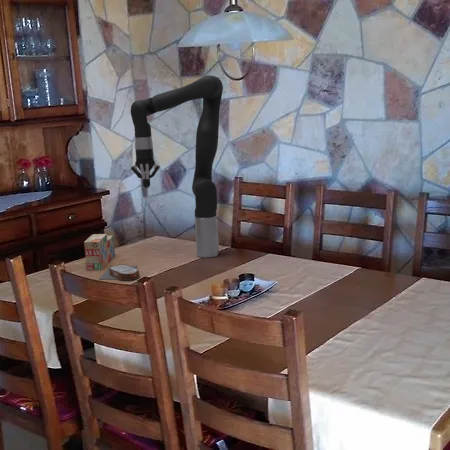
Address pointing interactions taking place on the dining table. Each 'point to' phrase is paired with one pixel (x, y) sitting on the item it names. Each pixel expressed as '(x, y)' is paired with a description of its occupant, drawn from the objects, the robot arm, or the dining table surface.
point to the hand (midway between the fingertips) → (146, 187)
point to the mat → (107, 276)
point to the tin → (124, 272)
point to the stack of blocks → (98, 251)
